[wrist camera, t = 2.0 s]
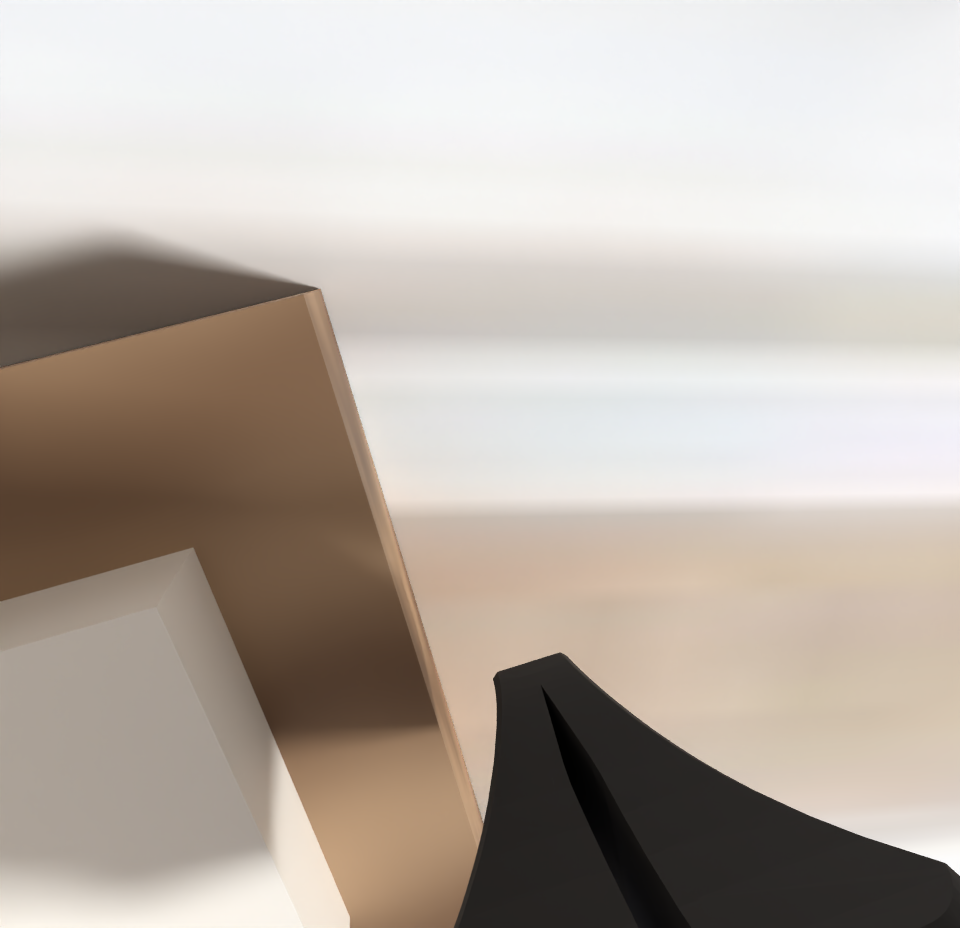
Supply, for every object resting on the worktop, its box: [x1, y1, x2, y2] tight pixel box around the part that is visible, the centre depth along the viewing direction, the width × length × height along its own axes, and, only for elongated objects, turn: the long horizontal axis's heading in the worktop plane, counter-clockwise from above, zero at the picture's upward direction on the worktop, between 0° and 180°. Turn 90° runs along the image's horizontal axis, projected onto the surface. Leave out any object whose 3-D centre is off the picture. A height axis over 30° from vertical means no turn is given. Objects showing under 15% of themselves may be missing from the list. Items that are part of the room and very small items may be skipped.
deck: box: [0, 289, 484, 928], centre depth 14 cm, size 16×12×4 cm
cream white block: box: [0, 548, 350, 928], centre depth 11 cm, size 9×6×2 cm, turn 13°
